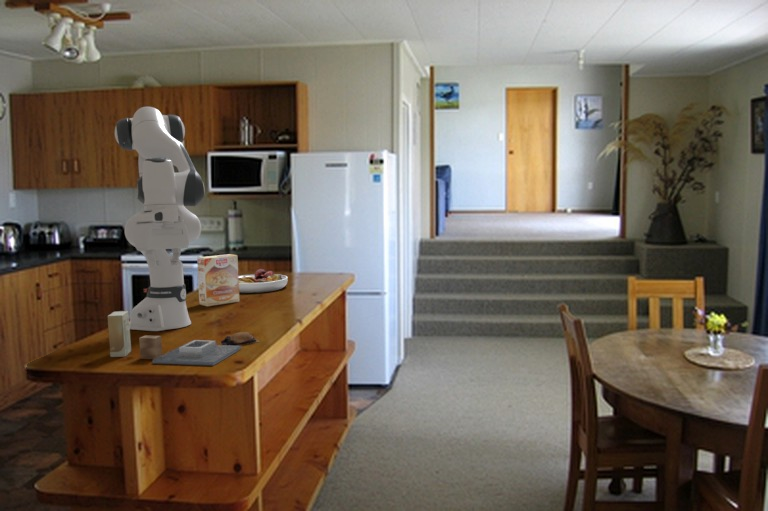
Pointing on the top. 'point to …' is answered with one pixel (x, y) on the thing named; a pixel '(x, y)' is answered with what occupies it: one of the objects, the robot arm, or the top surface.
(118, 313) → the skincare box
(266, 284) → the bowl
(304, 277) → the top surface
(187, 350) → the metal duct collar
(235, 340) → the bread roll
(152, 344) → the walnut peg
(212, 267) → the coffeecake box
